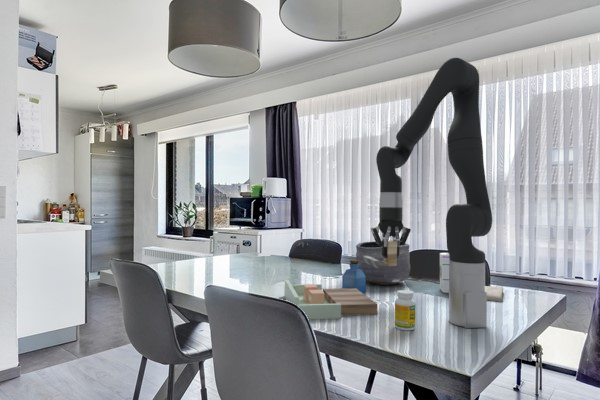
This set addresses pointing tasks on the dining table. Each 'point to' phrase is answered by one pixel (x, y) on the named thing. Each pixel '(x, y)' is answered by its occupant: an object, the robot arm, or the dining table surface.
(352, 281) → the perfume bottle
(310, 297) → the peach block
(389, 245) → the scraper
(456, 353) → the dining table surface
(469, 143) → the robot arm
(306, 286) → the tile
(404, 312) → the supplement bottle
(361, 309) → the block
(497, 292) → the washcloth
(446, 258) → the syrup box
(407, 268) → the tea bowl
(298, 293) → the tray
